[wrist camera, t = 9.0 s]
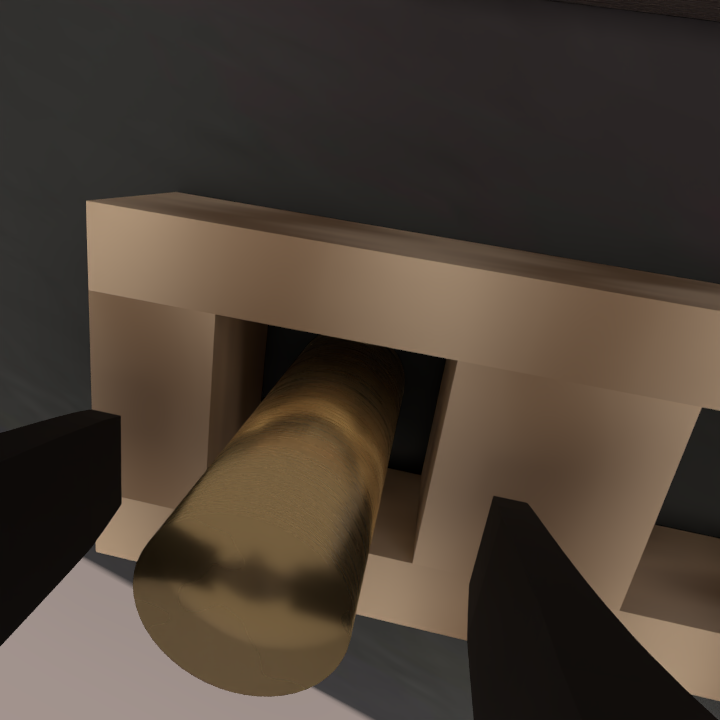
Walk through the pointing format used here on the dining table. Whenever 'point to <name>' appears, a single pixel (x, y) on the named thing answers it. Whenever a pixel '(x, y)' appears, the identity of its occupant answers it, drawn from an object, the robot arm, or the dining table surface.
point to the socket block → (662, 7)
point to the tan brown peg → (278, 529)
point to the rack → (454, 405)
